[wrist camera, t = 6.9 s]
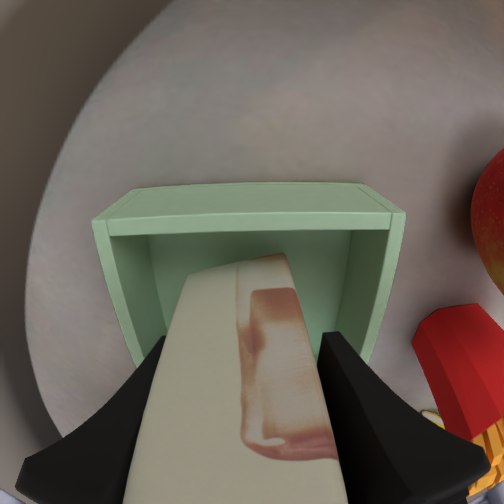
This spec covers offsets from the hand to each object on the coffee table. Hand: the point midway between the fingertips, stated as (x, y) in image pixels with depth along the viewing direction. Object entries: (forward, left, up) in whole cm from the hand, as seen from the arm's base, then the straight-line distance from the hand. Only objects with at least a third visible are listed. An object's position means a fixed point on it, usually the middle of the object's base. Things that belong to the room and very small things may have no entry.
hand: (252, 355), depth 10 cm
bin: (0, 0, -5) cm, 5 cm away
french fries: (+13, -4, -5) cm, 15 cm away
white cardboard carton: (0, 0, -3) cm, 3 cm away
